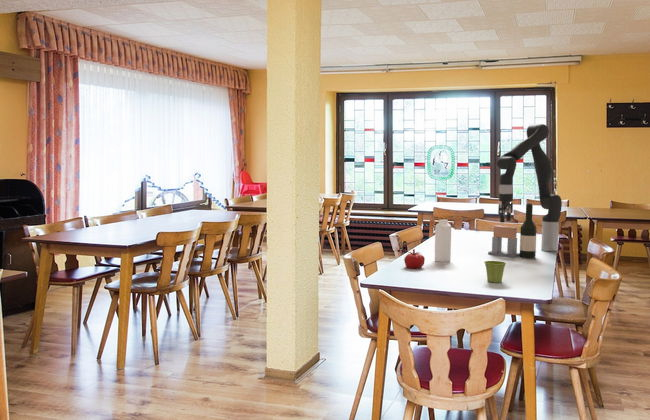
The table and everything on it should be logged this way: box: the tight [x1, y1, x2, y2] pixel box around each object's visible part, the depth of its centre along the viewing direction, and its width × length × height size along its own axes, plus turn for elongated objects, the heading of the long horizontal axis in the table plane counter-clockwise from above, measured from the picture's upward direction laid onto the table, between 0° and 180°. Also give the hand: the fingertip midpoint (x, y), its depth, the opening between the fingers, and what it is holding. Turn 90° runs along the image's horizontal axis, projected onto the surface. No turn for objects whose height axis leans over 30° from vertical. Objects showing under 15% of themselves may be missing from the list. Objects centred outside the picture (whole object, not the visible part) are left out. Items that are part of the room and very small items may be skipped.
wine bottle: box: [519, 202, 537, 260], centre depth 346 cm, size 8×8×30 cm
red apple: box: [403, 248, 425, 269], centre depth 314 cm, size 10×10×9 cm
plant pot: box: [484, 260, 507, 284], centre depth 282 cm, size 9×9×9 cm
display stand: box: [487, 236, 520, 258], centre depth 355 cm, size 7×16×10 cm, turn 51°
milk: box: [434, 218, 452, 263], centre depth 334 cm, size 6×6×22 cm
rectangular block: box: [492, 225, 518, 239], centre depth 354 cm, size 4×12×6 cm, turn 51°
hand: (505, 221), depth 354 cm, fingers open, 8 cm apart
